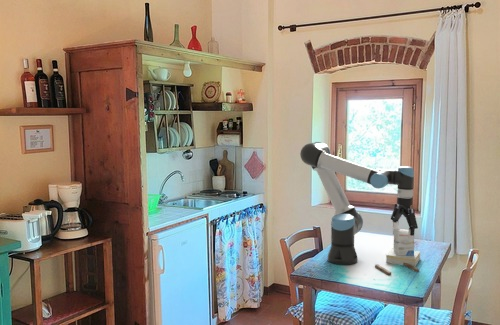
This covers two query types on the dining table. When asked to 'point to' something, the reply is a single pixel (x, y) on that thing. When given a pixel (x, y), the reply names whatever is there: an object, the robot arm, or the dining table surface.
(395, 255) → the block
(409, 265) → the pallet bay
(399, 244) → the ink box
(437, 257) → the dining table surface
